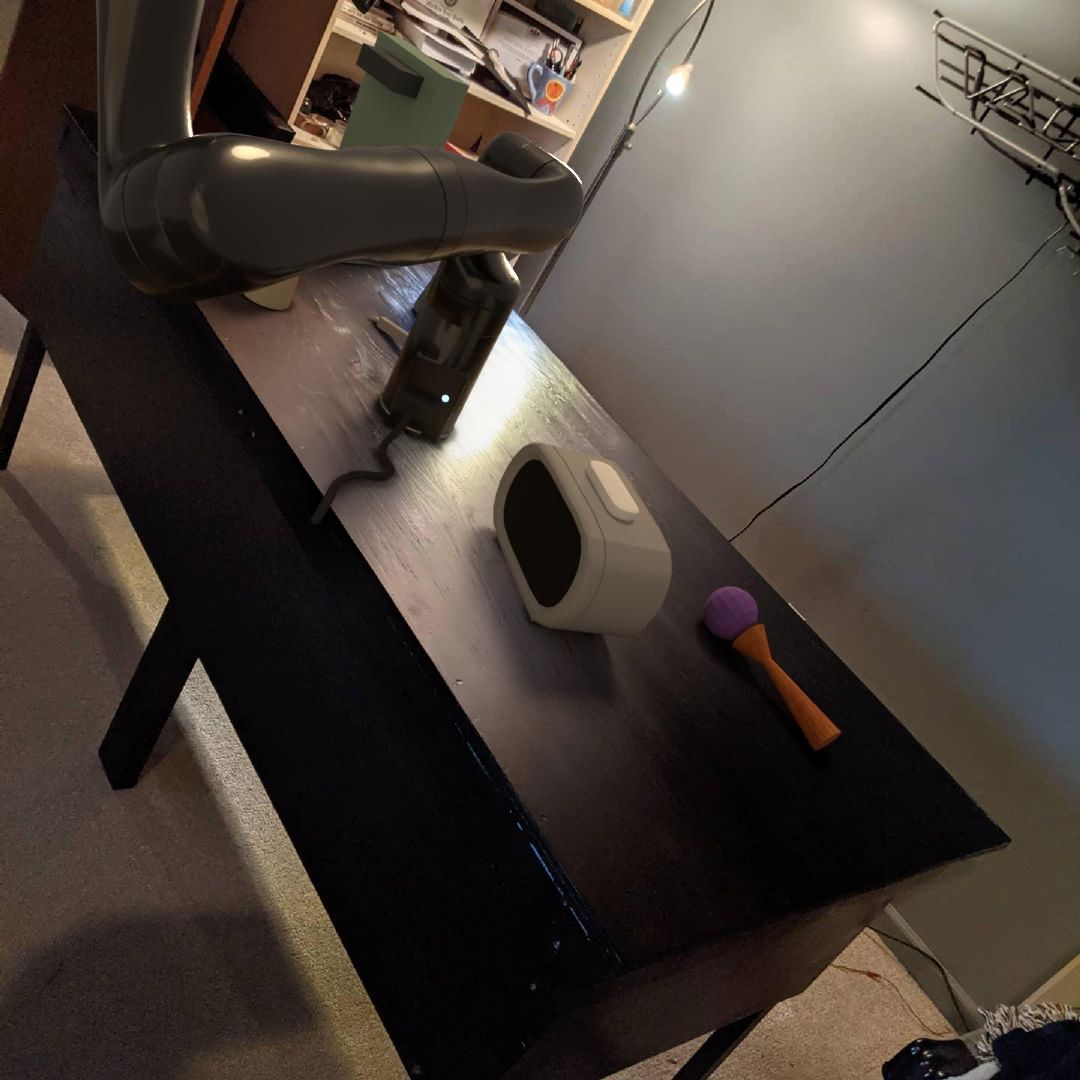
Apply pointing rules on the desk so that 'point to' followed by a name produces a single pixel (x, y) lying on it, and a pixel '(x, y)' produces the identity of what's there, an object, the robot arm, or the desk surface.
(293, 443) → the desk surface
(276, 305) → the beige cylindrical cup
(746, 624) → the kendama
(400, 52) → the coffee maker
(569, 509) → the alarm clock
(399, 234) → the robot arm
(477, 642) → the desk surface
